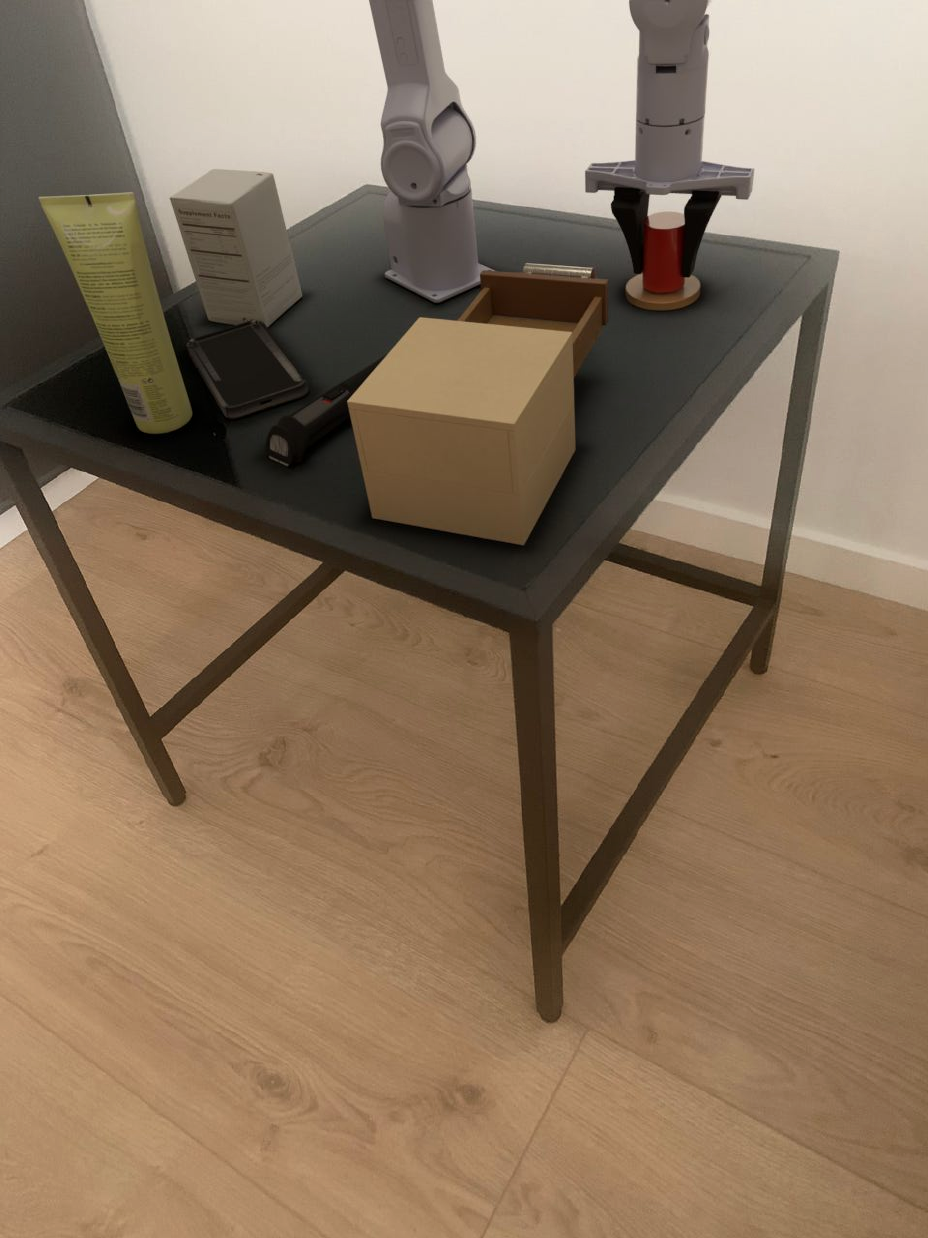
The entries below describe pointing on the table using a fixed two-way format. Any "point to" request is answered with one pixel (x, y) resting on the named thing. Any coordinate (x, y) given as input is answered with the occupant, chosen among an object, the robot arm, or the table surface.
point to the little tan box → (467, 427)
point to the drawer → (545, 302)
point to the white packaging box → (238, 246)
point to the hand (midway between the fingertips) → (663, 270)
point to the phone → (246, 369)
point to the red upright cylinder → (663, 252)
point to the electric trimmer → (313, 420)
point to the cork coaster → (662, 295)
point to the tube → (123, 302)
